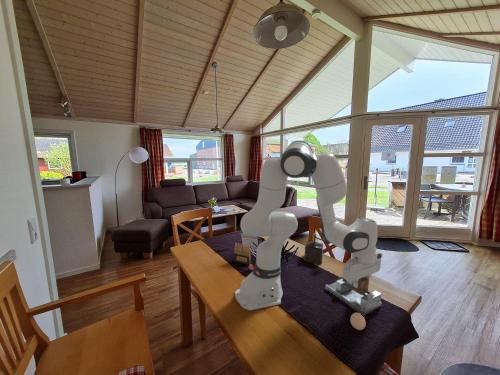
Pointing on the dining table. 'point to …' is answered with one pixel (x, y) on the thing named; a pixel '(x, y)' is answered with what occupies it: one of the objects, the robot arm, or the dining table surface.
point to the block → (362, 286)
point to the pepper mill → (314, 251)
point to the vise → (357, 299)
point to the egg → (358, 321)
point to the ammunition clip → (242, 254)
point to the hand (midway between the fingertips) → (360, 285)
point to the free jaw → (343, 285)
